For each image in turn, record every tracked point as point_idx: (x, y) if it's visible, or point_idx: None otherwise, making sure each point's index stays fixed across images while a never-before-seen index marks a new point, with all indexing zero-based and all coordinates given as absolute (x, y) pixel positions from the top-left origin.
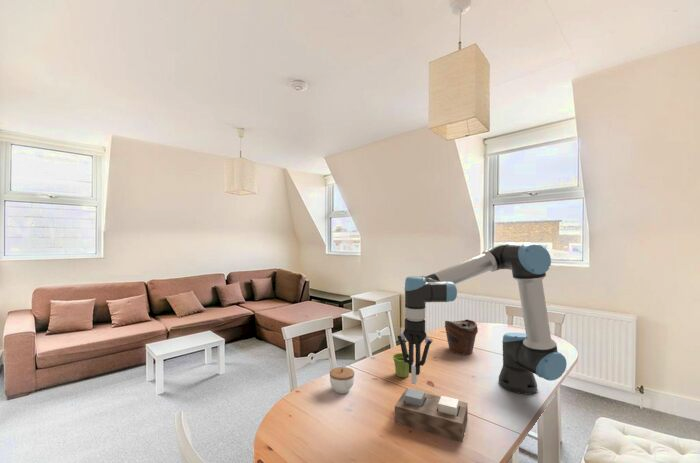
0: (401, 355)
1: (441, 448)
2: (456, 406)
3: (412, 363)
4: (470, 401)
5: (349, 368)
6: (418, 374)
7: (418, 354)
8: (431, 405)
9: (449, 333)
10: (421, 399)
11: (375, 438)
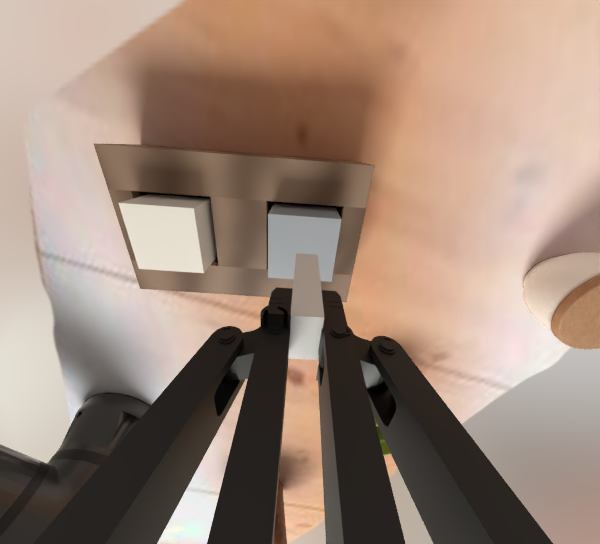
0: (383, 447)
1: (184, 75)
2: (122, 214)
3: (320, 343)
4: (188, 338)
5: (577, 345)
6: (275, 289)
7: (240, 431)
8: (238, 228)
9: (274, 538)
10: (268, 219)
11: (419, 18)
